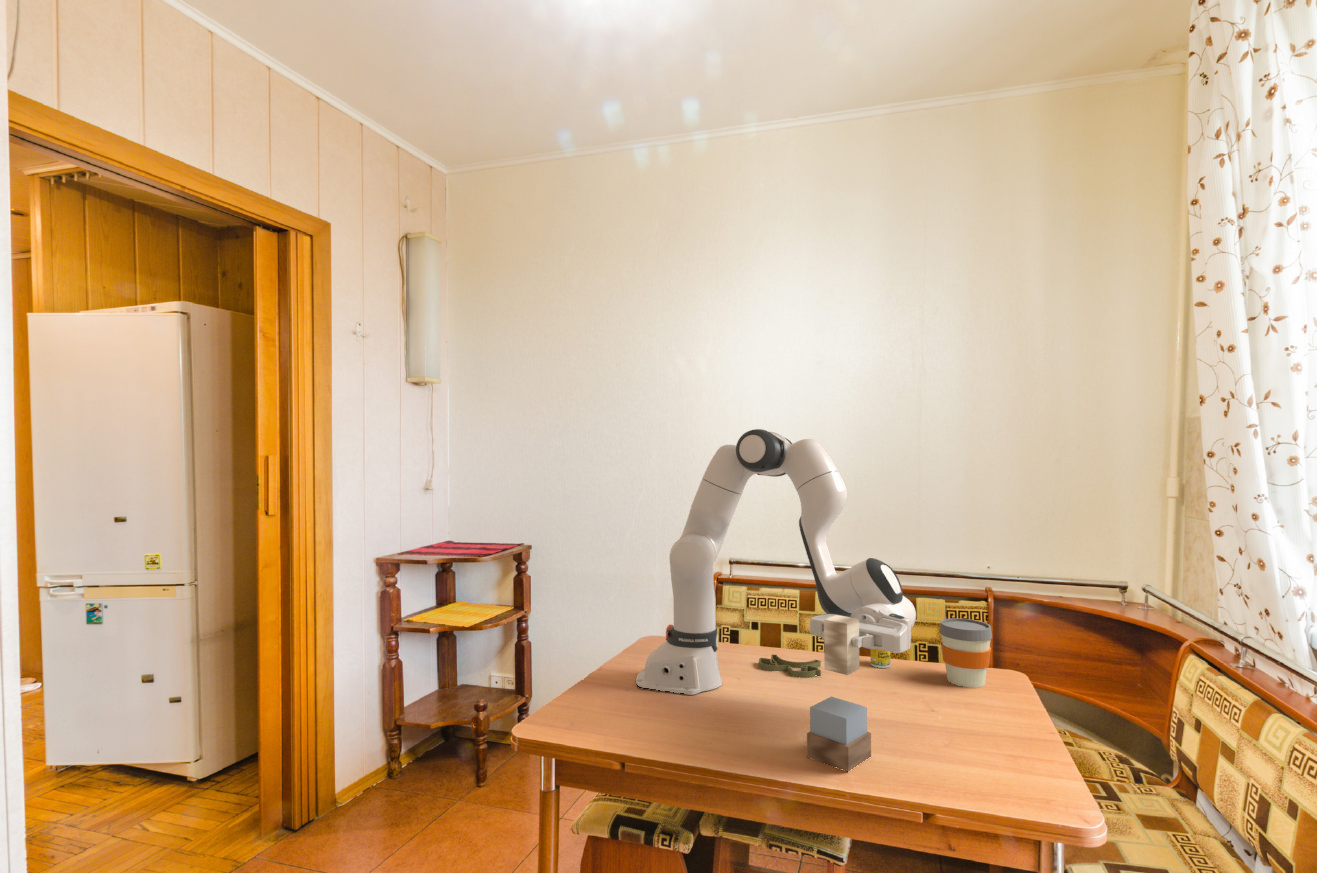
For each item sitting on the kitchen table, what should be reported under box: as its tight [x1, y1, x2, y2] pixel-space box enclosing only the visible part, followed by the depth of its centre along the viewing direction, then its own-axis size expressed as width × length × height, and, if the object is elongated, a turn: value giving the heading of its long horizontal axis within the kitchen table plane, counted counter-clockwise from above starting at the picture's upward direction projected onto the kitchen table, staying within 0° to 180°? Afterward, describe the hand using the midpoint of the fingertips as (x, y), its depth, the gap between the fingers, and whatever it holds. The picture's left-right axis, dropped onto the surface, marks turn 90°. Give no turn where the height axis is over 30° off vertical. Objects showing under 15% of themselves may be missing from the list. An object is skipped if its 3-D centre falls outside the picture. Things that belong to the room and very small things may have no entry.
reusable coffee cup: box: [939, 617, 993, 689], centre depth 176 cm, size 13×12×15 cm
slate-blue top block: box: [809, 696, 868, 745], centre depth 134 cm, size 8×8×5 cm
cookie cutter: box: [758, 653, 822, 679], centre depth 187 cm, size 18×12×2 cm, turn 64°
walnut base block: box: [806, 731, 872, 772], centre depth 133 cm, size 9×9×5 cm
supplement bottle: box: [870, 649, 892, 669], centre depth 189 cm, size 5×5×10 cm
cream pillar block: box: [823, 615, 860, 676], centre depth 135 cm, size 5×5×10 cm
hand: (839, 640), depth 135 cm, fingers closed on cream pillar block, 5 cm apart
